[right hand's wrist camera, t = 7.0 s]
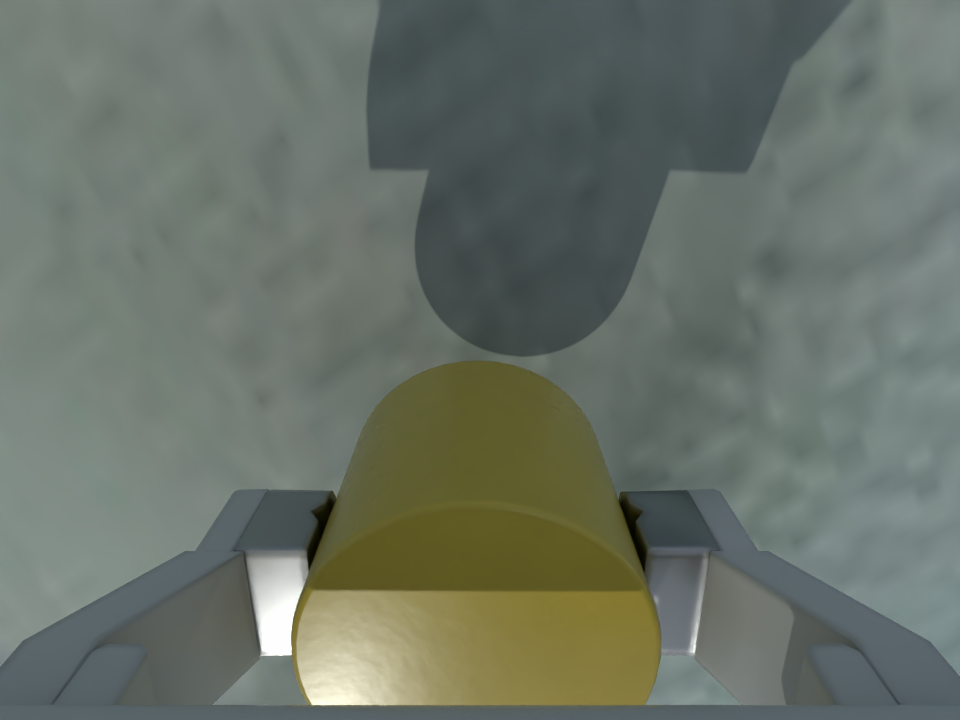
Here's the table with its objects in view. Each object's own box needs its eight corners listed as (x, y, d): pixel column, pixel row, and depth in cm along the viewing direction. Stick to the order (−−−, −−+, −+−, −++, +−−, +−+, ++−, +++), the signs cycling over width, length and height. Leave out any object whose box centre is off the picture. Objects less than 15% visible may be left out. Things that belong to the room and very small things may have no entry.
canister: (631, 530, 12) (705, 738, 8) (414, 600, 13) (384, 826, 9) (552, 320, 11) (596, 447, 7) (312, 411, 12) (219, 577, 7)
